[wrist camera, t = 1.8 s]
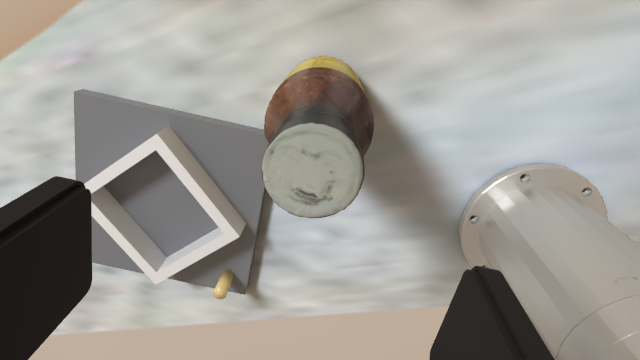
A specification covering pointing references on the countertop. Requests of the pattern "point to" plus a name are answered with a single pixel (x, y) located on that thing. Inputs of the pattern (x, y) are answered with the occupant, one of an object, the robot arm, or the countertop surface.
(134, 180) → the locating plate
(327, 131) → the sauce bottle
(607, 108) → the countertop surface
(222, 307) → the countertop surface
